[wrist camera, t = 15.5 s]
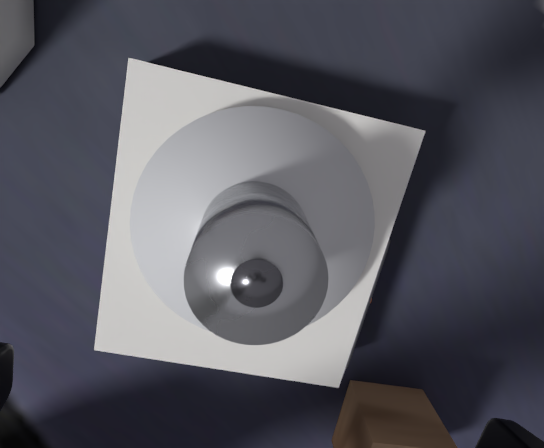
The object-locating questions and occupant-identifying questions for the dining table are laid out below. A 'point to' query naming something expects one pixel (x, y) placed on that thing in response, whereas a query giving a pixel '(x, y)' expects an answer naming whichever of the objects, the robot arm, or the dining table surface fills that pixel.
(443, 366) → the dining table surface
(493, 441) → the robot arm
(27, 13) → the flask
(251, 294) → the steel weight with knob
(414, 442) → the walnut block
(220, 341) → the kitchen scale
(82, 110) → the dining table surface
